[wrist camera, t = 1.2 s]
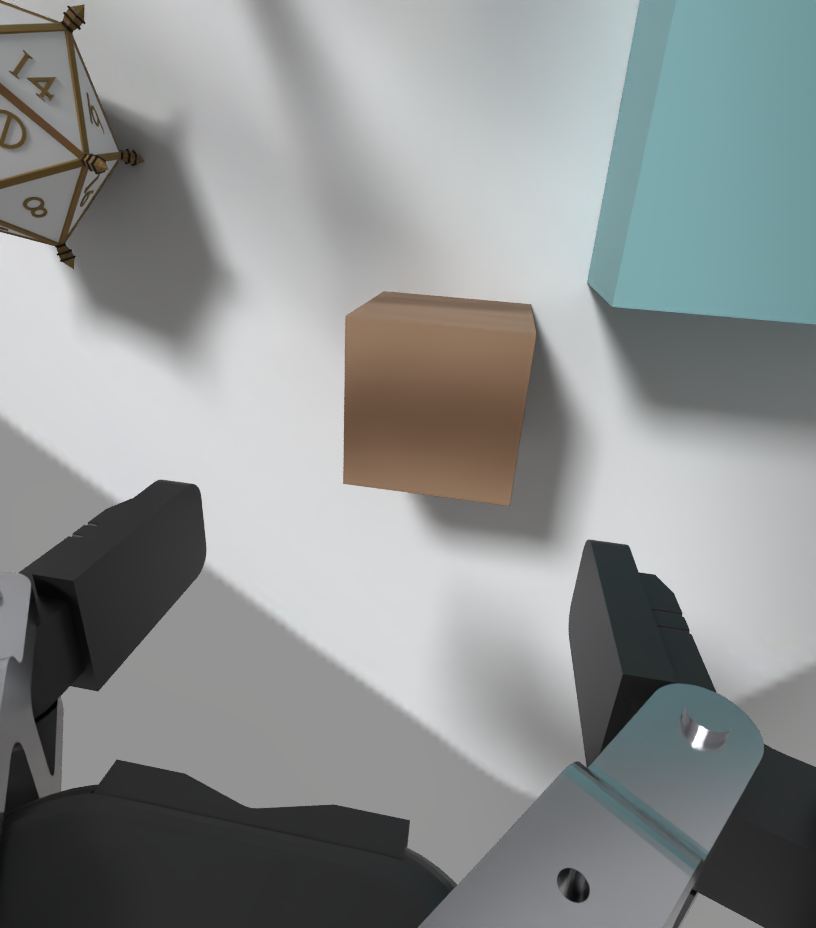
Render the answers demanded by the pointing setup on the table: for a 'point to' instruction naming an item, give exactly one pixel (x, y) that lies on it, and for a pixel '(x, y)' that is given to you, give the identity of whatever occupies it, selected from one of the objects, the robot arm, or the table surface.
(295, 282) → the table surface
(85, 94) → the game die
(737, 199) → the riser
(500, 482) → the walnut cube
